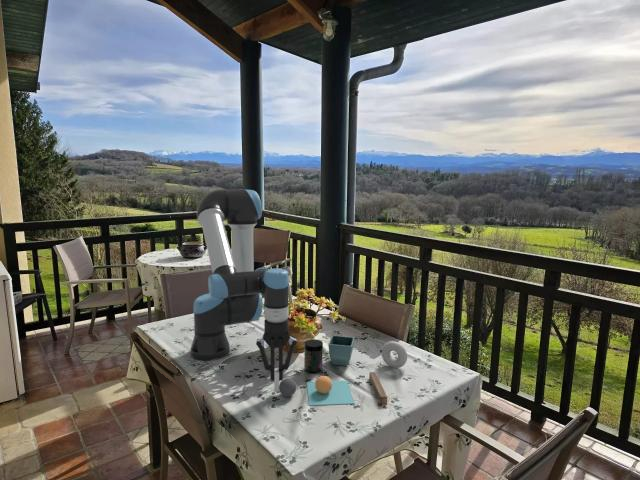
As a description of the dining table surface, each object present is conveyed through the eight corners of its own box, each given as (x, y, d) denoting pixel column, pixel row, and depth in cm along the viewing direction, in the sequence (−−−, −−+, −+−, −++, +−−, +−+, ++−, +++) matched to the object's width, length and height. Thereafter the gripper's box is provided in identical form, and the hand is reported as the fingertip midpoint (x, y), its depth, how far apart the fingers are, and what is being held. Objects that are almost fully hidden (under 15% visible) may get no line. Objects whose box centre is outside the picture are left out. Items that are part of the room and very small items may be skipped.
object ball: (323, 377, 123) (336, 386, 124) (320, 369, 128) (334, 378, 129) (312, 391, 123) (326, 400, 124) (311, 383, 129) (324, 391, 130)
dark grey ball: (291, 381, 121) (298, 396, 122) (292, 372, 127) (299, 386, 128) (275, 387, 122) (282, 402, 122) (277, 378, 127) (284, 392, 128)
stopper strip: (380, 404, 120) (380, 396, 120) (369, 378, 136) (369, 372, 136) (387, 404, 120) (387, 396, 120) (374, 378, 136) (375, 371, 136)
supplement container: (318, 376, 138) (318, 348, 136) (301, 372, 140) (301, 344, 139) (325, 368, 144) (325, 341, 142) (308, 364, 146) (308, 338, 145)
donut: (408, 369, 144) (409, 343, 142) (404, 372, 141) (405, 346, 139) (383, 362, 149) (384, 337, 148) (379, 365, 146) (380, 340, 145)
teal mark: (309, 405, 119) (309, 405, 119) (306, 382, 133) (306, 382, 133) (354, 403, 120) (354, 403, 120) (347, 381, 134) (347, 380, 134)
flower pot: (351, 369, 143) (351, 346, 142) (327, 367, 145) (328, 344, 143) (354, 359, 151) (354, 337, 150) (331, 356, 153) (332, 335, 152)
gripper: (254, 323, 117) (255, 396, 121) (297, 322, 118) (297, 394, 122) (256, 315, 125) (257, 384, 128) (296, 314, 126) (296, 382, 129)
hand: (276, 389), depth 125 cm, fingers closed
